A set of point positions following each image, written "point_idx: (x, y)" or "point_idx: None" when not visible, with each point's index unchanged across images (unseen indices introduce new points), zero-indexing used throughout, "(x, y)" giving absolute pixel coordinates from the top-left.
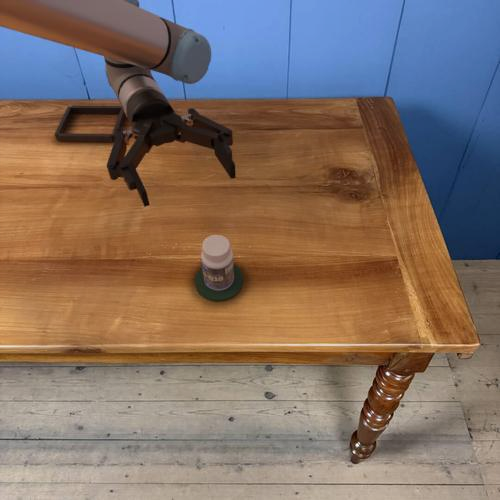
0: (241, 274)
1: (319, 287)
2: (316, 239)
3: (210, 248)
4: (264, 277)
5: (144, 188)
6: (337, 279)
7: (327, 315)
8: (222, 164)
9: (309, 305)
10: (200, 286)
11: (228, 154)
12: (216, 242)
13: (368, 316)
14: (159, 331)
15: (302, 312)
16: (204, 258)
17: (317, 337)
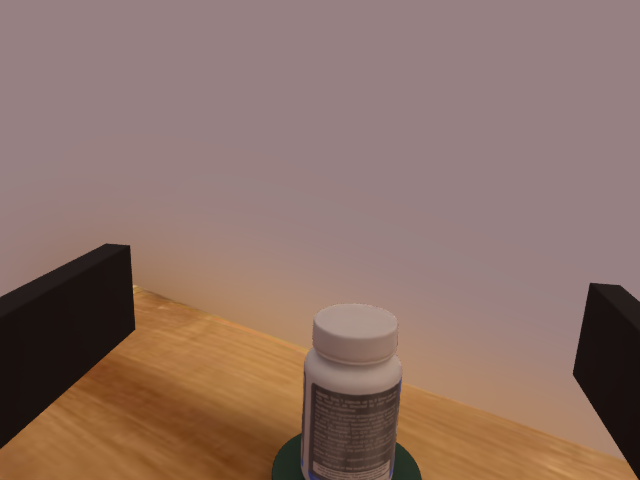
0: (281, 452)
1: (159, 374)
2: (10, 445)
3: (376, 317)
4: (232, 435)
5: (601, 294)
6: (113, 369)
7: (205, 344)
8: (70, 373)
9: (213, 363)
10: (408, 477)
11: (55, 270)
12: (350, 321)
13: (155, 323)
14: (551, 453)
15: (236, 361)
16: (395, 358)
17: (254, 334)
